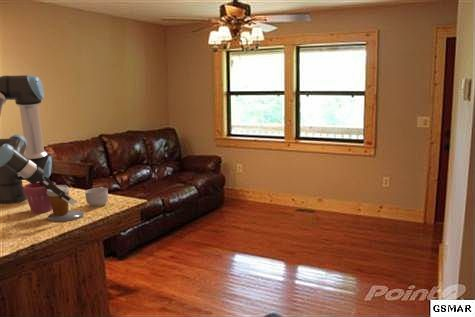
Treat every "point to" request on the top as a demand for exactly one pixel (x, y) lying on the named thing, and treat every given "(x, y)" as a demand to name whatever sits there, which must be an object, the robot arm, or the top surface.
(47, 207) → the plant pot
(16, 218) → the top surface
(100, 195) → the teacup
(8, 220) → the top surface
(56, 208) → the disposable coffee cup
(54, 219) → the gray dome
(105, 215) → the top surface
